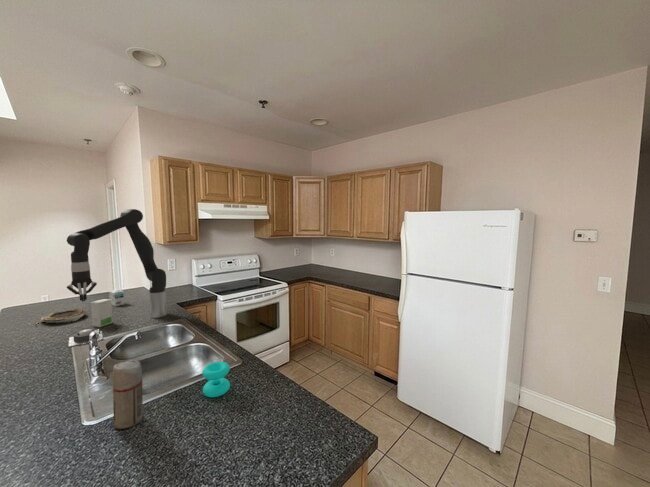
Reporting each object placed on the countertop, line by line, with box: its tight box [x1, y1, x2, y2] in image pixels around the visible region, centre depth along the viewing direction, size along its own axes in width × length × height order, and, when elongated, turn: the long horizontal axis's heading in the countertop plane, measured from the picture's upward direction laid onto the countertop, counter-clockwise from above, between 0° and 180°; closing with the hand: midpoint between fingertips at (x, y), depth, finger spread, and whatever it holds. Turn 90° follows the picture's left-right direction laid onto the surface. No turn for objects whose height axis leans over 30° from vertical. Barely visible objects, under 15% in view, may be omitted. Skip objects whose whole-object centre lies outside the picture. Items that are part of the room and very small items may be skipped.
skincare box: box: [90, 298, 113, 328], centre depth 172 cm, size 8×7×16 cm
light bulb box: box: [108, 288, 126, 307], centre depth 213 cm, size 11×7×11 cm, turn 57°
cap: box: [78, 328, 93, 336], centre depth 152 cm, size 5×5×4 cm
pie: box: [34, 308, 87, 327], centre depth 180 cm, size 28×27×5 cm
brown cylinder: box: [112, 359, 144, 430], centre depth 90 cm, size 8×8×20 cm
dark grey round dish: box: [68, 328, 104, 348], centre depth 152 cm, size 14×14×4 cm
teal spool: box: [201, 361, 231, 398], centre depth 107 cm, size 10×10×10 cm
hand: (83, 300), depth 150 cm, fingers closed
